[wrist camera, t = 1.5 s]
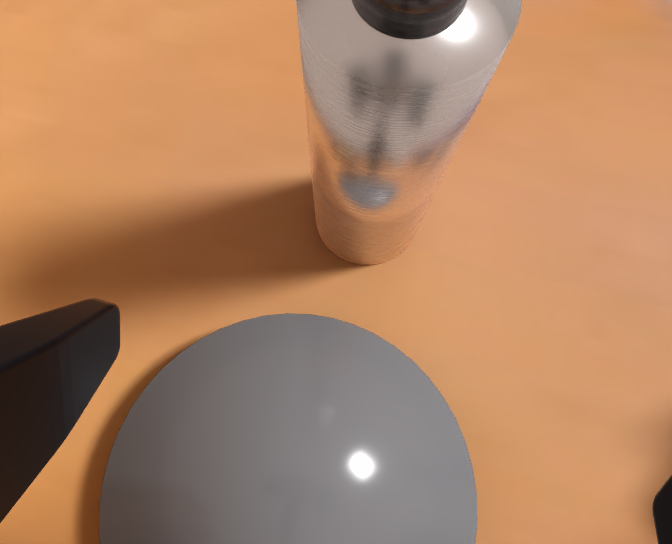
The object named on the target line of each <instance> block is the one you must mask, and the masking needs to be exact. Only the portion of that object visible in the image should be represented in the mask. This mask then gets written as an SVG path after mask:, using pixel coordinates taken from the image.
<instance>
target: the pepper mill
mask: <svg viewBox="0 0 672 544" xmlns="http://www.w3.org/2000/svg"><path fill="white" fill-rule="evenodd" d="M296 2H297V14H298V25H299V37H300V48H301V60H302V71H303V83H304V94H305V105H306V117H307V128H308V140H309V151H310V163H311V174H312V185H313V197H314V208H315V220H316V226H317V230H318V233H319V235H320V237H321V239H322V241H323V242H324V244H325V245H326V246H327V248H328V249H329V250H330V251H331V252H333V253H334V254H335V255H336V256H338V257H340V258H341V259H343V260H346V261H348V262H351V263H355V264H360V265H374V264H379V263H383V262H386V261H388V260H390V259H392V258H394V257H396V256H397V255H398V254H400V253H401V252H402V251H403V250H404V249H405V248H406V247H407V245H408V244H409V243H410V241H411V239H412V237H413V235H414V233H415V231H416V229H417V227H418V225H419V223H420V221H421V219H422V217H423V215H424V213H425V211H426V209H427V207H428V205H429V203H430V201H431V199H432V197H433V195H434V193H435V191H436V189H437V187H438V185H439V183H440V181H441V179H442V177H443V175H444V173H445V171H446V169H447V167H448V165H449V163H450V161H451V159H452V157H453V155H454V153H455V151H456V149H457V147H458V145H459V143H460V141H461V139H462V136H463V134H464V132H465V130H466V128H467V126H468V124H469V122H470V120H471V118H472V116H473V114H474V112H475V110H476V108H477V106H478V104H479V102H480V100H481V98H482V96H483V94H484V92H485V90H486V88H487V86H488V84H489V82H490V80H491V78H492V76H493V74H494V72H495V70H496V68H497V66H498V64H499V62H500V60H501V58H502V56H503V54H504V52H505V50H506V48H507V46H508V44H509V42H510V40H511V38H512V36H513V33H514V31H515V29H516V26H517V24H518V20H519V16H520V12H521V3H522V0H296Z"/></svg>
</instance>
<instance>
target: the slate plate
mask: <svg viewBox="0 0 672 544" xmlns="http://www.w3.org/2000/svg"><path fill="white" fill-rule="evenodd" d="M476 530H477V493H476V486H475V480H474V473H473V467H472V463H471V460H470V456H469V453H468V449H467V446H466V442H465V440H464V437H463V435H462V433H461V430H460V428H459V425H458V423H457V421H456V418H455V417H454V415H453V413H452V411H451V410H450V408H449V406H448V404H447V403H446V401H445V399H444V397H443V396H442V395H441V393H440V392H439V391H438V389H437V388H436V387H435V385H434V384H433V383H432V381H431V380H430V379H429V377H428V376H427V375H426V374H425V373H424V372H423V371H422V370H421V369H420V368H419V367H418V366H417V365H416V364H415V363H414V362H413V361H412V360H411V359H410V358H409V357H407V356H406V355H405V354H404V353H402V352H401V351H400V350H399V349H397V348H396V347H395V346H394V345H392V344H390V343H389V342H387V341H385V340H384V339H382V338H381V337H379V336H377V335H376V334H374V333H372V332H369V331H367V330H365V329H363V328H360V327H358V326H356V325H354V324H351V323H347V322H344V321H341V320H337V319H334V318H329V317H323V316H317V315H311V314H277V315H267V316H261V317H257V318H253V319H248V320H244V321H241V322H238V323H235V324H232V325H230V326H227V327H224V328H221V329H219V330H217V331H215V332H213V333H212V334H210V335H208V336H206V337H204V338H202V339H200V340H198V341H197V342H195V343H194V344H193V345H191V346H190V347H188V348H187V349H185V350H184V351H182V352H181V353H180V354H178V355H177V356H176V357H175V358H174V359H173V360H172V361H171V362H169V363H168V364H167V365H166V366H165V367H164V368H163V369H162V370H161V371H160V372H159V373H158V374H157V375H156V376H155V377H154V379H153V380H152V381H151V382H150V383H149V384H148V385H147V386H146V387H145V389H144V390H143V392H142V393H141V395H140V396H139V398H138V399H137V400H136V402H135V403H134V405H133V406H132V408H131V409H130V411H129V413H128V415H127V417H126V419H125V420H124V422H123V424H122V426H121V428H120V430H119V432H118V435H117V437H116V440H115V442H114V445H113V447H112V450H111V453H110V455H109V459H108V463H107V467H106V471H105V474H104V478H103V483H102V491H101V498H100V505H99V540H100V544H475V542H476Z"/></svg>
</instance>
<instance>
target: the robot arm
mask: <svg viewBox="0 0 672 544" xmlns="http://www.w3.org/2000/svg"><path fill="white" fill-rule="evenodd" d="M119 348H120V311H119V308H118V306H117V305H116V304H114V303H110V302H107V301H103V300H100V299H95V298H91V299H87V300H84V301H80V302H77V303H74V304H71V305H67V306H64V307H61V308H57V309H54V310H51V311H48V312H44V313H41V314H38V315H34V316H31V317H28V318H25V319H21V320H18V321H15V322H11V323H8V324H5V325H2V326H0V523H1V522H2V520H3V519H4V518H5V516H6V515H7V514H8V513H9V511H10V510H11V509H12V507H13V506H14V505H15V504H16V502H17V501H18V500H19V498H20V497H21V496H22V495H23V493H24V492H25V491H26V489H27V488H28V487H29V486H30V484H31V483H32V482H33V481H34V479H35V478H36V477H37V475H38V474H39V473H40V472H41V470H42V469H43V468H44V466H45V465H46V464H47V463H48V461H49V460H50V459H51V457H52V456H53V455H54V454H55V452H56V451H57V450H58V448H59V447H60V446H61V444H62V443H63V442H64V440H65V439H66V437H67V436H68V434H69V433H70V431H71V430H72V428H73V427H74V425H75V424H76V422H77V421H78V419H79V417H80V416H81V414H82V413H83V411H84V409H85V408H86V406H87V405H88V403H89V401H90V400H91V398H92V396H93V395H94V393H95V392H96V390H97V388H98V387H99V385H100V384H101V382H102V380H103V379H104V377H105V376H106V374H107V372H108V371H109V369H110V368H111V366H112V364H113V363H114V361H115V359H116V357H117V355H118V352H119ZM653 517H654V522H655V528H656V533H657V539H658V544H672V475H671V477H670V478H669V479H668V480H667V482H666V483H665V484H664V485H663V487H662V488H661V489H660V491H659V492H658V493H657V495H656V496H655V499H654V502H653Z"/></svg>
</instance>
